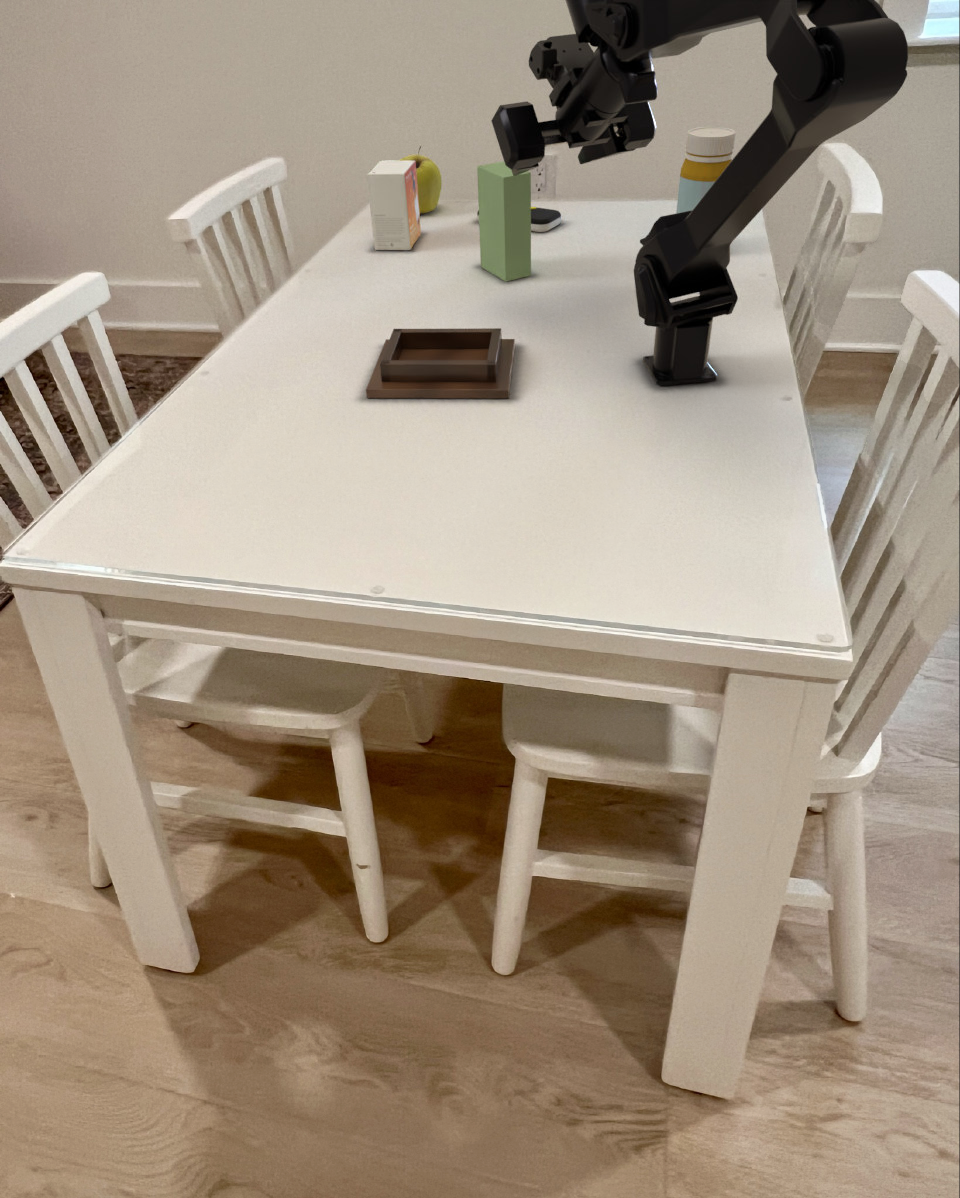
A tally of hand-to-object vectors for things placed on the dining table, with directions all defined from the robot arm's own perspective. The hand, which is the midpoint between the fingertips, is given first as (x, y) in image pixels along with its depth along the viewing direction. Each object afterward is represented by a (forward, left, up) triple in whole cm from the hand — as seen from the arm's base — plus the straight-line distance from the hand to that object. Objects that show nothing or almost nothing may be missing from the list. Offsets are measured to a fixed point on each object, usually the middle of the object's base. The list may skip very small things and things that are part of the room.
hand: (547, 165), depth 107 cm
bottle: (+11, -24, -15) cm, 30 cm away
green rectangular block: (+8, +4, -15) cm, 17 cm away
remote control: (+29, -1, -15) cm, 32 cm away
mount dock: (-22, +15, -15) cm, 31 cm away
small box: (+24, +18, -15) cm, 33 cm away
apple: (+39, +14, -15) cm, 44 cm away
